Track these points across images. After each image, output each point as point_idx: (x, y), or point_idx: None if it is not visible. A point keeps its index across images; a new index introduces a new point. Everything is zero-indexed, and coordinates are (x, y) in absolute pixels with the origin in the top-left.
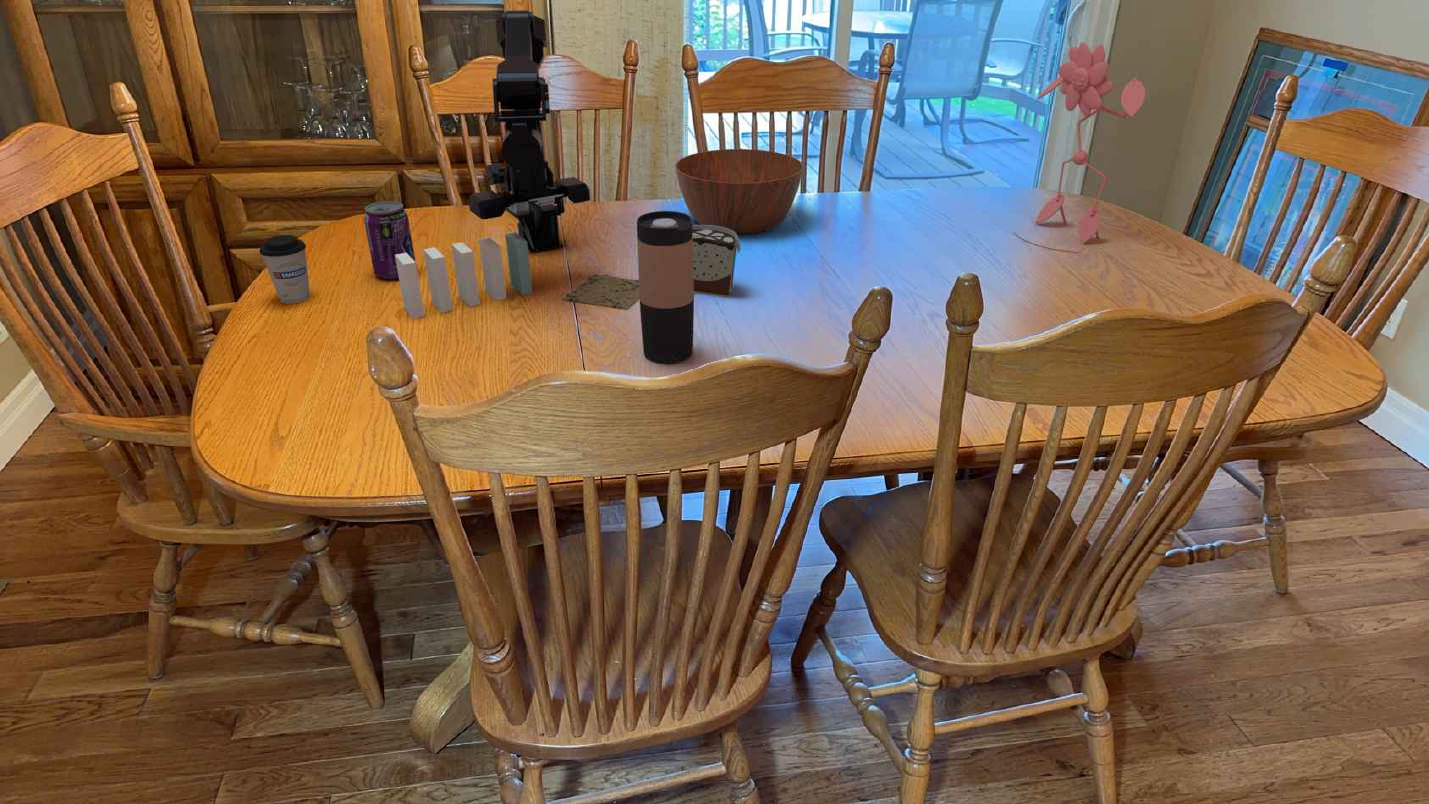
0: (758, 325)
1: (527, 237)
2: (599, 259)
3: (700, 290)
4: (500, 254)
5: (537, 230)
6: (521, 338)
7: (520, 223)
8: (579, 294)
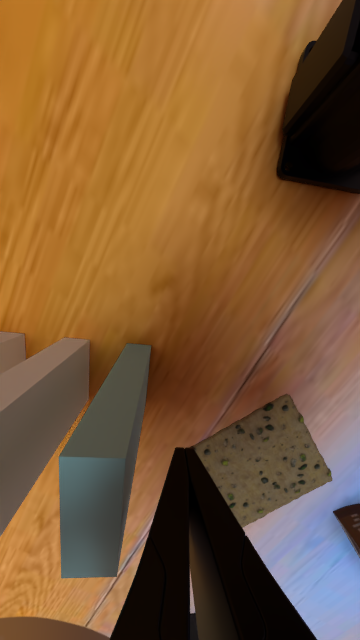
0: (315, 619)
1: (163, 489)
2: (355, 327)
3: (351, 540)
4: (4, 524)
5: (197, 590)
6: (46, 539)
7: (127, 595)
8: (206, 465)
